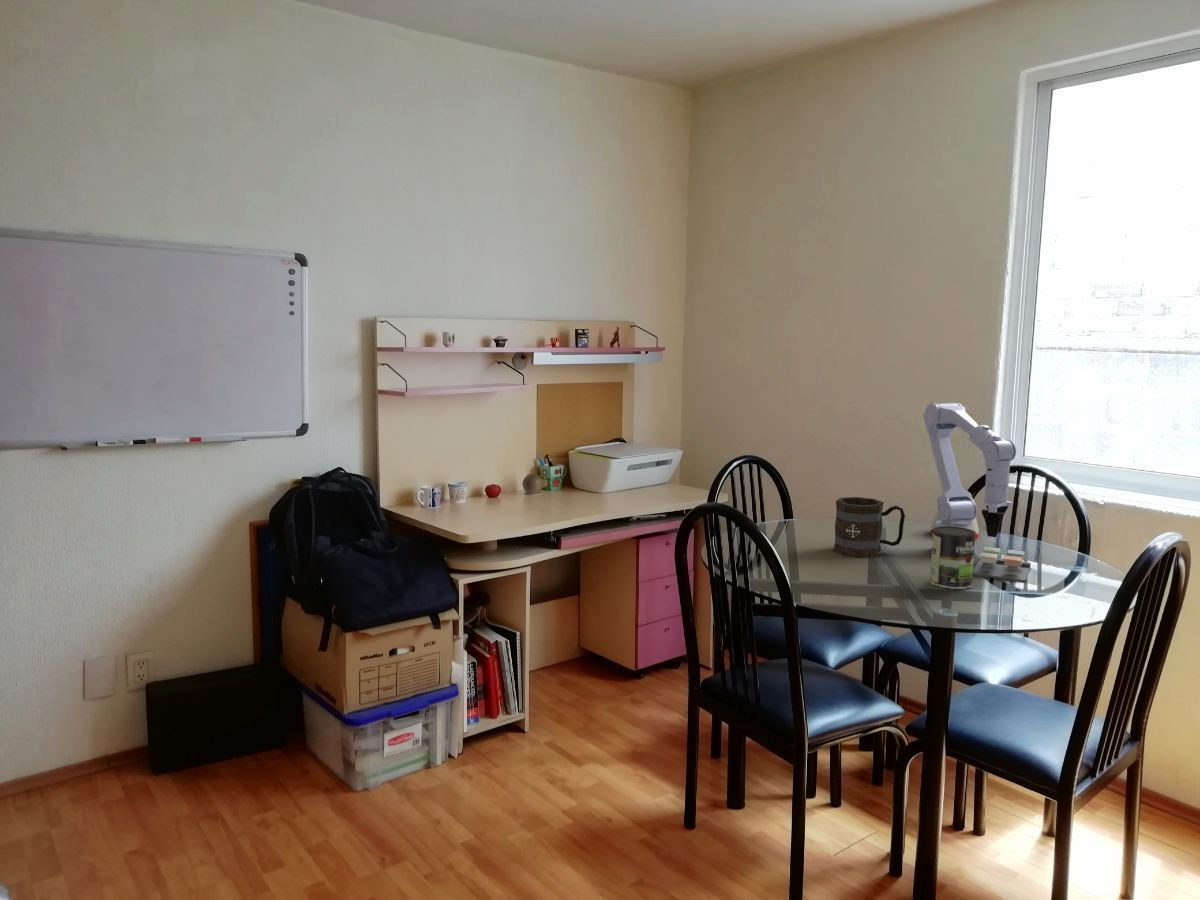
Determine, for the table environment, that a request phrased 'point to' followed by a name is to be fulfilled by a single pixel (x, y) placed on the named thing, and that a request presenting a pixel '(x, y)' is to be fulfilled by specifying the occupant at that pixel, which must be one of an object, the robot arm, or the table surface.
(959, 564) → the coffee can
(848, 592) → the table surface
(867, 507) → the mug
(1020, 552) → the grey square block
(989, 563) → the ivory key
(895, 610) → the table surface
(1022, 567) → the keypad board
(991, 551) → the cream white block
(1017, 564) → the terracotta key
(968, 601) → the table surface
